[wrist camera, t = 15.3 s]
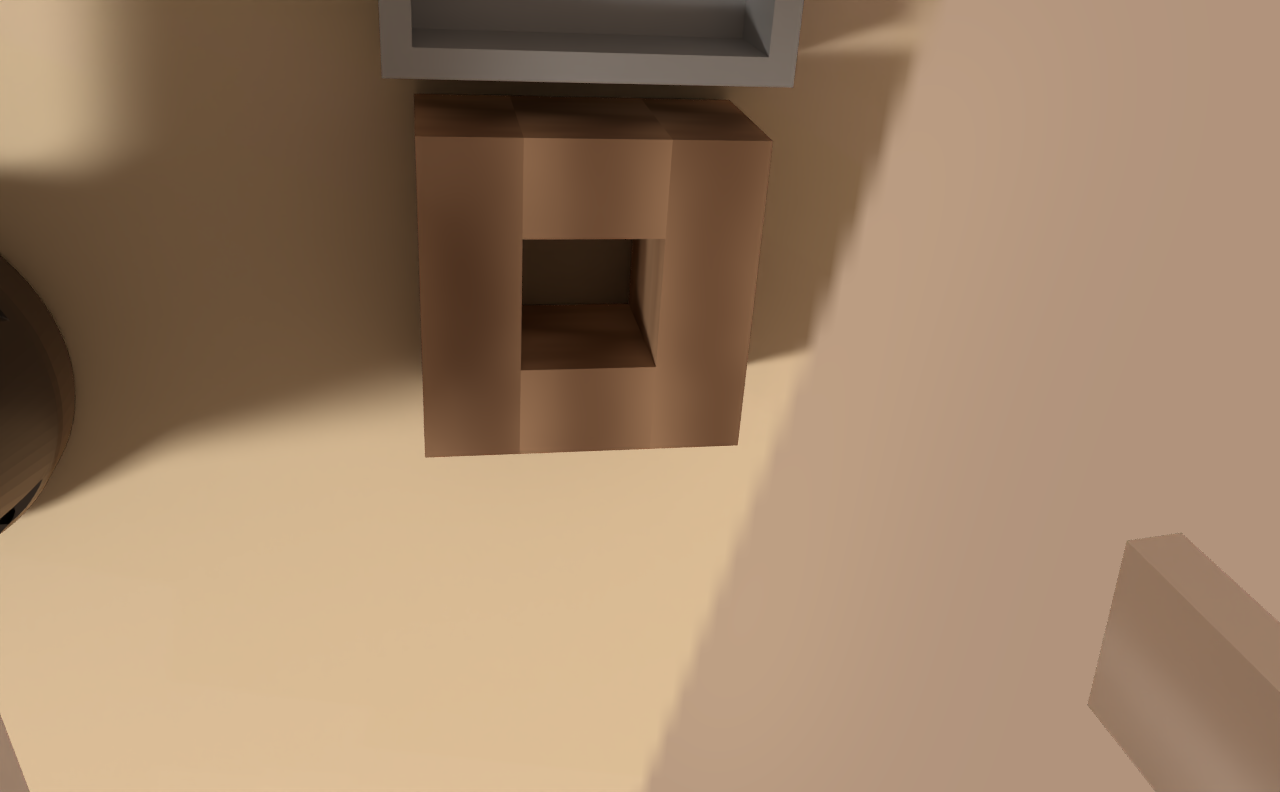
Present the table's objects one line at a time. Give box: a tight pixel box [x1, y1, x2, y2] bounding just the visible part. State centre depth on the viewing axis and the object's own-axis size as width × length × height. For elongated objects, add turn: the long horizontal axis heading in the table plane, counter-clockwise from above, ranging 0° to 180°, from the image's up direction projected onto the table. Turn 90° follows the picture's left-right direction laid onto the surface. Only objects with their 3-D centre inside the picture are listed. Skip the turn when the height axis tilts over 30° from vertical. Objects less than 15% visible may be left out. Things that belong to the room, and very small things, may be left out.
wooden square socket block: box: [414, 94, 773, 457], centre depth 43 cm, size 12×12×6 cm
